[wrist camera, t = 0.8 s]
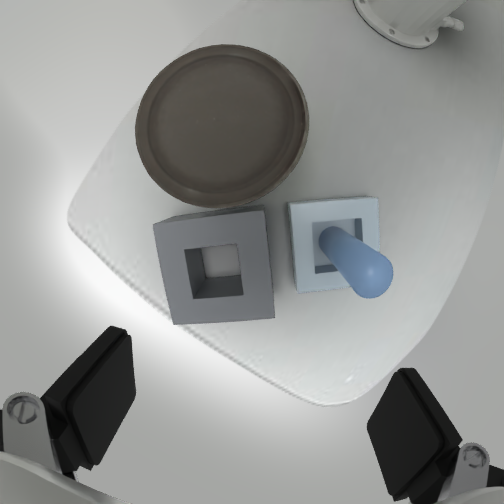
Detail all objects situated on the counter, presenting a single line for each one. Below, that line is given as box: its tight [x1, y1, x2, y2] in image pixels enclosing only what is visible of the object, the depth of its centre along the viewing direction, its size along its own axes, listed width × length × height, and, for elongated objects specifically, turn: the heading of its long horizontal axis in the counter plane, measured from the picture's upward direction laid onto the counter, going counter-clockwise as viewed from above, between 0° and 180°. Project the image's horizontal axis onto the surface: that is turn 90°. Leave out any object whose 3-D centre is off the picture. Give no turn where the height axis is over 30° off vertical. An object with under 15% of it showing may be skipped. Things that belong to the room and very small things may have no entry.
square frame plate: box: [288, 196, 380, 293], centre depth 28 cm, size 9×9×3 cm
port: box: [153, 205, 275, 325], centre depth 28 cm, size 10×10×6 cm
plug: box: [319, 226, 393, 298], centre depth 24 cm, size 3×3×12 cm
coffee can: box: [135, 44, 309, 208], centre depth 21 cm, size 10×10×14 cm
